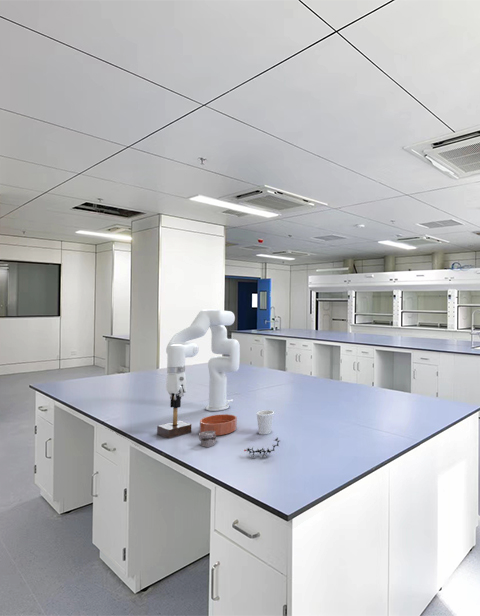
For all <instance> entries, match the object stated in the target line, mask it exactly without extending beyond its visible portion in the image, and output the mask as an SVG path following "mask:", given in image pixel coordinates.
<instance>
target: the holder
mask: <svg viewBox="0 0 480 616" xmlns="http://www.w3.org/2000/svg"><path fill="white" fill-rule="evenodd" d="M156 427H157V428H156V435H159V436H161V437H163V438H166V439H173V438H176V437H179V436H183V435H186V434H191V433H192V424H191V423H188V422H185V421H182V420H177V425H173V421H172V422H168V423H163V424H158V425H157V426H156Z"/></svg>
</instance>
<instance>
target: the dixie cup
mask: <svg viewBox="0 0 480 616" xmlns="http://www.w3.org/2000/svg"><path fill="white" fill-rule="evenodd" d="M255 414H256V419H257V428H258V434H259V435H268V434H271V433H272V426H273V420H274V414H275V411H274V410H270V409H269V410H260V411H257V412H256V413H255Z"/></svg>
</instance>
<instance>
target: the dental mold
mask: <svg viewBox="0 0 480 616" xmlns="http://www.w3.org/2000/svg"><path fill="white" fill-rule="evenodd" d="M213 435H214V436H213ZM198 439H199V441H200V445H199V446H202V447H205V448H211V447H213V446H214V445H215V444H217V436H216V434H215V431H205V432H201V433H200V432H199V433H198Z"/></svg>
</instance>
